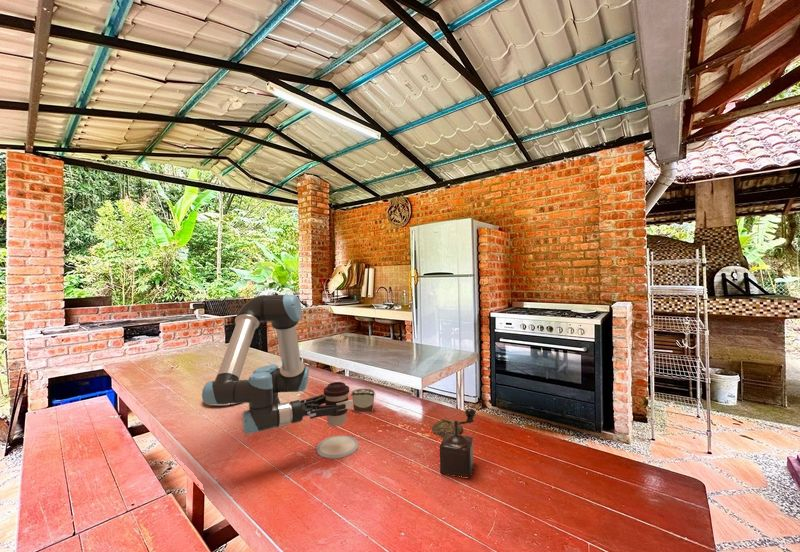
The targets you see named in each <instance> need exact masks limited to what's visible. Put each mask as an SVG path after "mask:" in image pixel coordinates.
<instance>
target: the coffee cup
mask: <svg viewBox="0 0 800 552" xmlns="http://www.w3.org/2000/svg"><path fill="white" fill-rule="evenodd" d="M349 393H350V387H349V386H348V385H346V383H345V382H342V381H335V382H330V383H329V384H327V386H326V387H324V388H323V395H325V397H326V398H325V403H324V405H336V403H340V402H344V401H349V396H348V395H349ZM347 412H348V409H344V410H340V411H337V414H335V415H328V416H326V420H327V421H326V422H327V425H329V426H331V427H339V426H342V425H344V424H345V423H346V422H347V414H348V413H347Z"/></svg>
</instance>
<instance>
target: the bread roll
mask: <svg viewBox="0 0 800 552" xmlns="http://www.w3.org/2000/svg"><path fill="white" fill-rule="evenodd" d="M454 421H455V420H453V419H447V418H442V419H440V420H438V421H437V422H436V423H435V424H433V426H432V427H431V430H432V433H433V434H434V433H435V434H434V435H436V436H437V435H439V437H440V436H441V438H442V437H443V438H444V436H445V433H446V434H455V427H454V424H455V423H454ZM463 430H464V428H463V426H462V424H460V425H459V426H458V434H459V435H461V433H462V432H463ZM443 438H442V439H443Z"/></svg>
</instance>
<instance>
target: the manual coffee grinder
mask: <svg viewBox="0 0 800 552" xmlns="http://www.w3.org/2000/svg"><path fill="white" fill-rule="evenodd" d="M464 412H465V413H464V414H465V416H466V419H465V421H458V420H453V421H454V423H455V424H454V427H455V434H446V433H445V436H444V438H442V440H441V443H440V445H439V473H444V474H449V475H455V476H460V477H461V476H462V477H468V478H470V477H471V478H472V476H471V474H472V475H473V473H472V471H473V472H474V471H475V466H473V465H475V463H474V437H473V436H471V435H470V436H468V435H462V434H458V426H459V425H465V424H472V423H474V422H475V421H474V418H475V416H476V414H477V412H476V411H475V410H474V408H466V409H465V411H464ZM444 474H443V475H444ZM449 475H448V476H449Z"/></svg>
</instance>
